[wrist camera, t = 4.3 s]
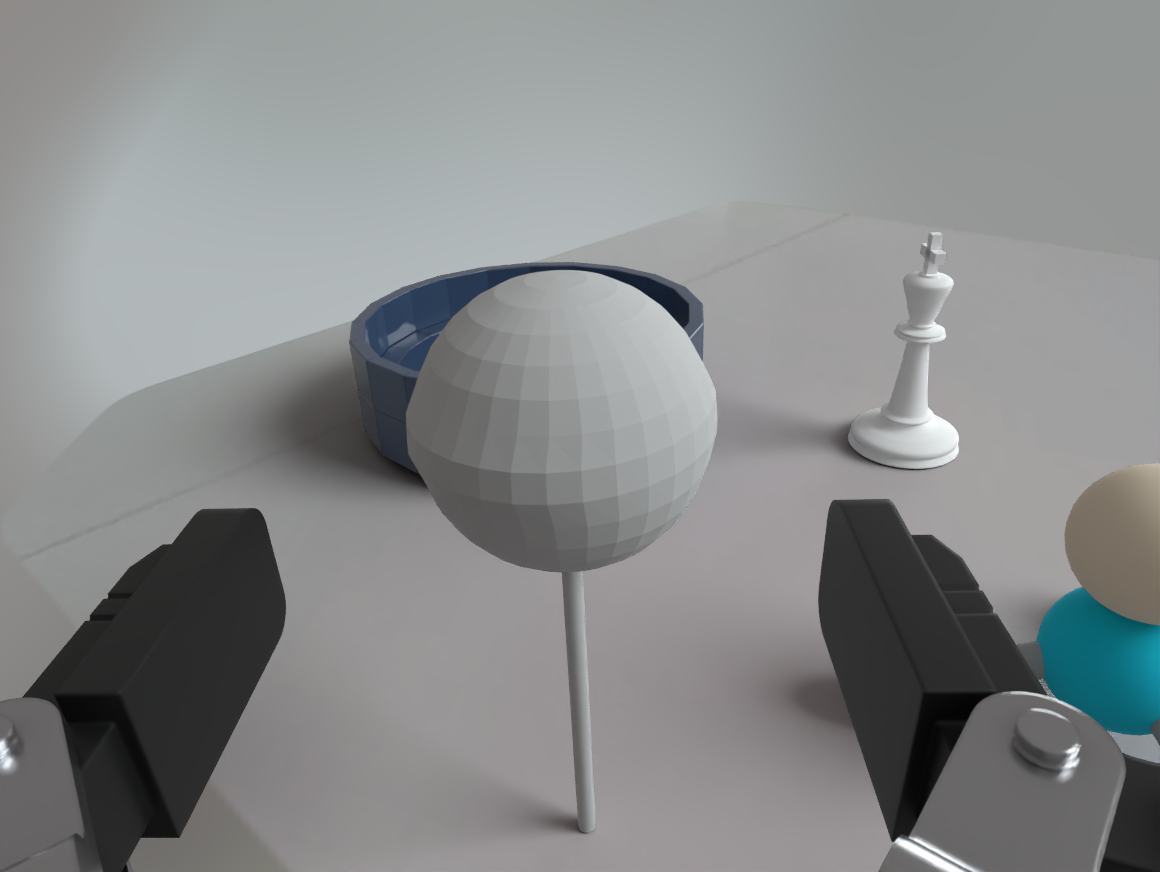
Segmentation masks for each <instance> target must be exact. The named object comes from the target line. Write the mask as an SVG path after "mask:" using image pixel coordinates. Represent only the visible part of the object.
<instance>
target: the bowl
mask: <svg viewBox="0 0 1160 872" xmlns="http://www.w3.org/2000/svg"><path fill="white" fill-rule="evenodd" d="M551 270H577V271H587V272H594V273H598V274H602V275H605V276H608V277H610V278H613V279H615V280H618V281H621V282H623V283H626V284H628V285H631V286H633V287H635V288H636V289H638V290H640V291H641V292H643V293H644V294H645V295H647V296H648V297H650V298H651V299H653V300H654V301H656V302H657V303H658V304H660V305H661V306H662V307H663V308H664V309H665V310H666V311H667V312H668V313H669V314H670V315H671V316H672V317H673V318H674V319H675V321H676V322H677V323H678V324H679V325H680V326H681V327H682V328H683V329H684V330H685V332H686V333H687V335H688V337H689V338H690V340H691V342H692V344H693V346H694V347H695V349H696V351H697V353H698V354H699V356H700V358H701V360H702V362H703V330H704V319H703V304H702V303H701V302H700V301H699V300H698V299H697V298H696V297H695V296H694V295H693V294H692V293H691V292H690V291H689V290H688V289H687V288H686V287H684V286H682V285H679V284H677V283H675V282H672V281H670V280H668V279H665V278H663V277H661V276H658V275H656V274H651V273H647V272H642V271H637V270H633V269H628V268H624V267H618V266H609V265H598V264H587V263H575V262H556V263H522V264H512V265H501V266H491V267H482V268H476V269H471V270H466V271H461V272H456V273H451V274H446V275H441V276H437V277H434V278H431V279H427V280H424V281H421V282H418V283H415V284H412V285H409V286H406V287H402V288H401V289H398V290H396V291H394V292H392V293H390V294H389V295H387V296H385V297H383V298H381V299H379V300H377V301H375V302H373V303H371V304H370V305H369V306H368V307H367V308H366V309H365V310H364V311H363V312H362V313H361V314H360V315H359V316H358V317H357V318H356V319H355V320H354V321H353V322H352V324H351V332H350V340H349V344H350V350H351V355H352V360H353V366H354V371H355V377H356V382H357V387H358V393H359V399H360V404H361V410H362V415H363V420H364V426H365V431H366V433H367V435H368V436H369V437H370V439H371V440H372V441H373V443H374V444H375V445H376V447H377V448H378V449H379V451H380V452H381V453H382V455H384V456H385V457H386V458H388V459H390V460H392V461H394V462H396V463H398V464H400V465H402V466H404V467H406V468H408V469H410V470H411V471H413V472H415V473H417V474H420V473H419V471H418V470H417V468H416V466H415V465H414V463H413V461H412V460H411V458H410V456H409V454H408V445H407V428H406V411H407V408H408V405H409V402H410V399H411V397H412V394H413V391H414V388H415V385H416V382H417V379H418V376H419V373H420V371H421V368H422V366H423V364H424V361H425V359H426V356H427V354H428V352H429V349H430V347H431V346H432V344H433V343H434V341H435V340H436V339H437V337H438V336H439V335H440V333H441V332H442V330H443V329H444V328H445V326H446V325H447V323H448V322H449V321H450V320H451V318H452V317H453V316H454V315H455V314H457V313H458V312H459V311H460V310H461V309H462V308H463V307H465V306H466V305H467V304H468V303H469V302H470V301H471V300H473V299H474V298H475V297H477V296H478V295H479V294H481V293H483V292H485V291H487V290H489V289H491V288H493V287H495V286H497V285H499V284H500V283H502V282H504V281H506V280H509V279H511V278H514V277H517V276H521V275H525V274H529V273H535V272H542V271H551Z"/></svg>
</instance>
